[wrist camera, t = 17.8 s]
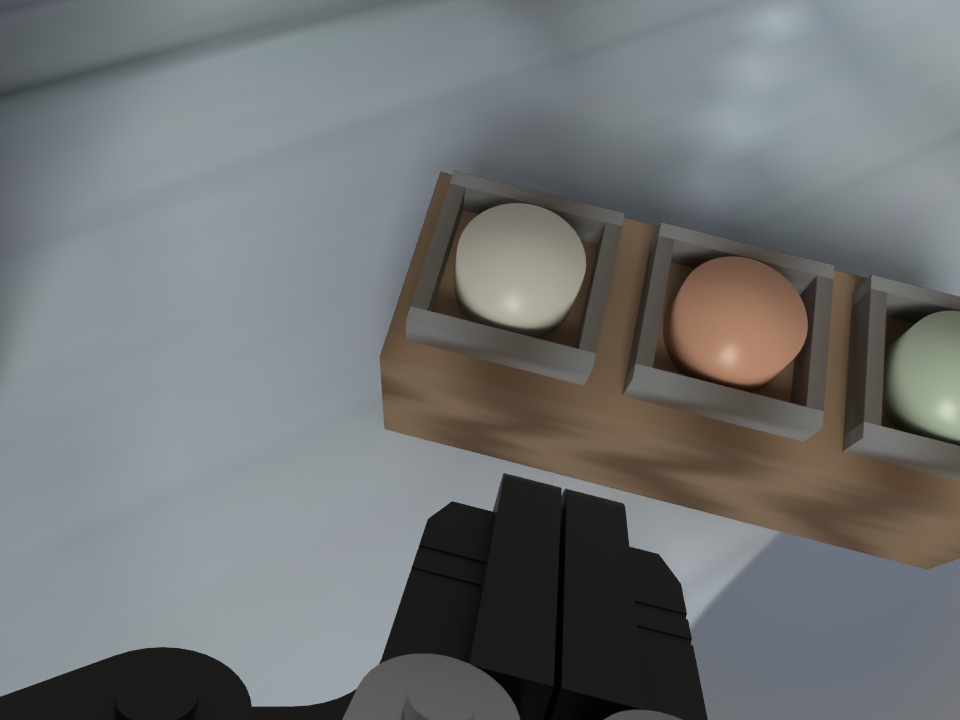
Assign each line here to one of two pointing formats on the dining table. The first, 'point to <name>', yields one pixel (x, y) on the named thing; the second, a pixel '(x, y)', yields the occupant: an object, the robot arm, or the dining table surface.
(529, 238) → the cream egg
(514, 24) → the dining table surface
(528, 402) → the wooden egg crate
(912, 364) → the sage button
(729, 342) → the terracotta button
